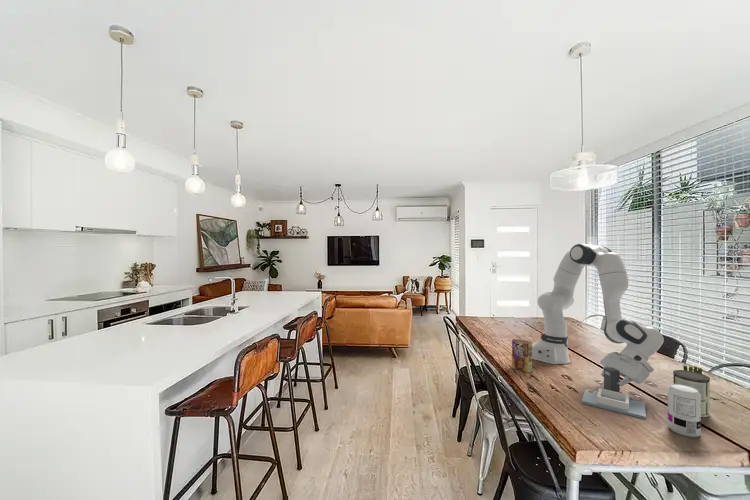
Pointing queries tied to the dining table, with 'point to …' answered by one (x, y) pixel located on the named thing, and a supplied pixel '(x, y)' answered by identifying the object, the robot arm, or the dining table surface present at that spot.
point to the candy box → (522, 355)
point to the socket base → (614, 402)
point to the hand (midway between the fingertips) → (610, 380)
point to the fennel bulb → (692, 369)
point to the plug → (611, 379)
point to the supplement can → (684, 410)
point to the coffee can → (695, 386)
